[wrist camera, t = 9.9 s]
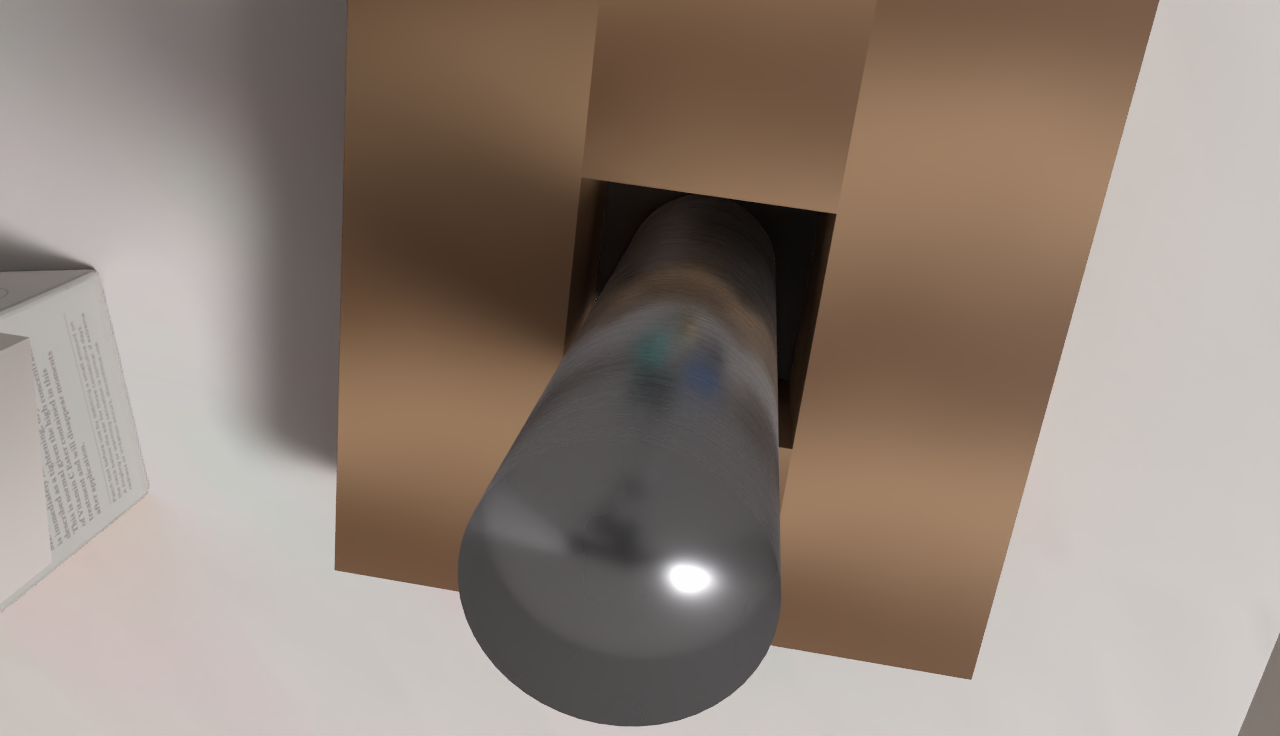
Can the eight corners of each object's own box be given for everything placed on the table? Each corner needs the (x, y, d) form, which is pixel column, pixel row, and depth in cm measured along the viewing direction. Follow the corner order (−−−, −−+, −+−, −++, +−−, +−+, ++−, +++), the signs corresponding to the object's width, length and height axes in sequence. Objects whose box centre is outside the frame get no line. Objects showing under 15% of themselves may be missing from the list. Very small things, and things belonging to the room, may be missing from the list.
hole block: (421, -100, 22) (350, -121, 18) (1094, -15, 21) (1164, -19, 17) (395, 490, 27) (334, 570, 23) (942, 581, 26) (971, 679, 22)
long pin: (637, 184, 24) (468, 415, 10) (787, 206, 23) (809, 470, 10) (619, 326, 25) (447, 696, 12) (762, 349, 24) (753, 751, 11)
